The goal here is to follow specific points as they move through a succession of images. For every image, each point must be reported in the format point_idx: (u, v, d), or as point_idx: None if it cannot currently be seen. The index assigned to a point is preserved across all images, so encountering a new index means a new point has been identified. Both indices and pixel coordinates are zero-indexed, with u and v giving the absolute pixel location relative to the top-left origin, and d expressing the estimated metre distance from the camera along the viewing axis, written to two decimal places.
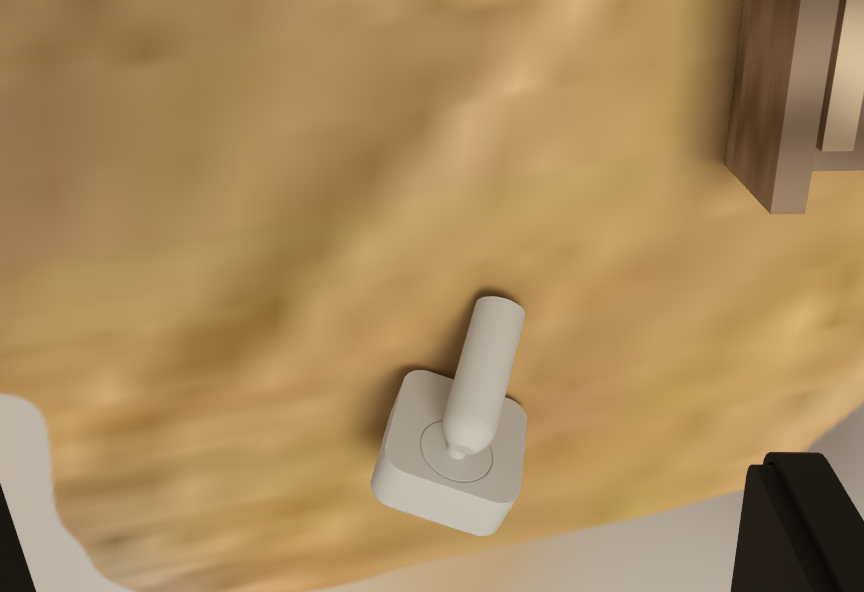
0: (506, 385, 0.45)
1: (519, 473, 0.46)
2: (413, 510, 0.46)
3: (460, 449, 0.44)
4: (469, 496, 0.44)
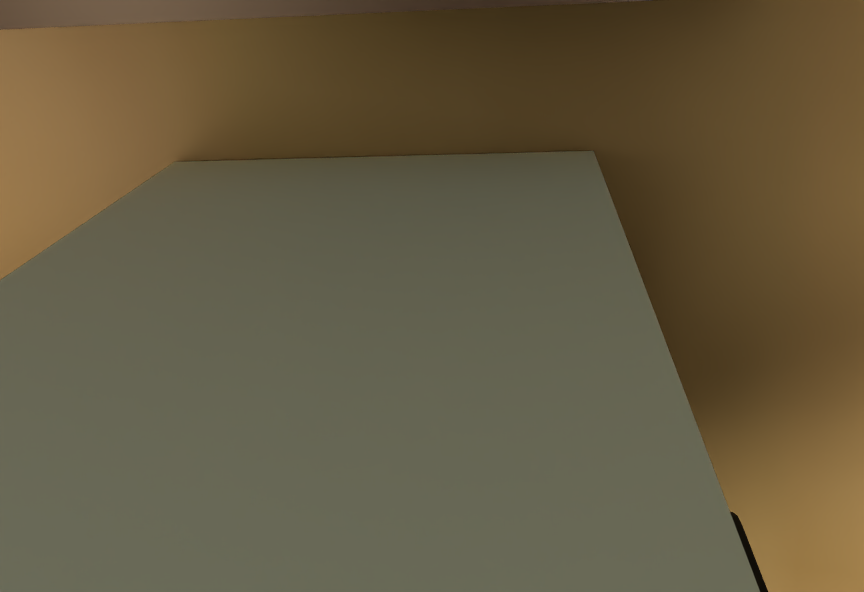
0: None
1: None
2: None
3: None
4: None
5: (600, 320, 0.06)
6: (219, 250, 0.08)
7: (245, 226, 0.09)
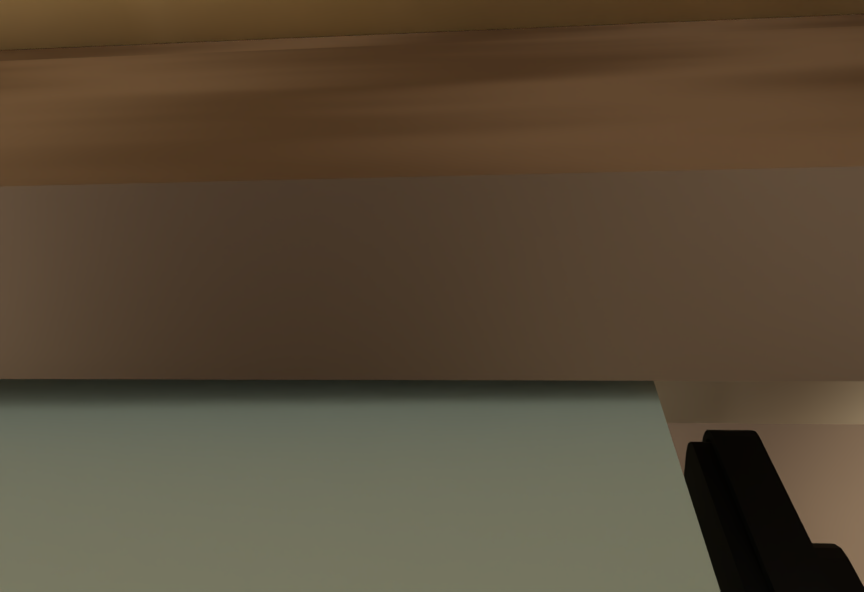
0: None
1: None
2: None
3: None
4: None
5: None
6: None
7: None
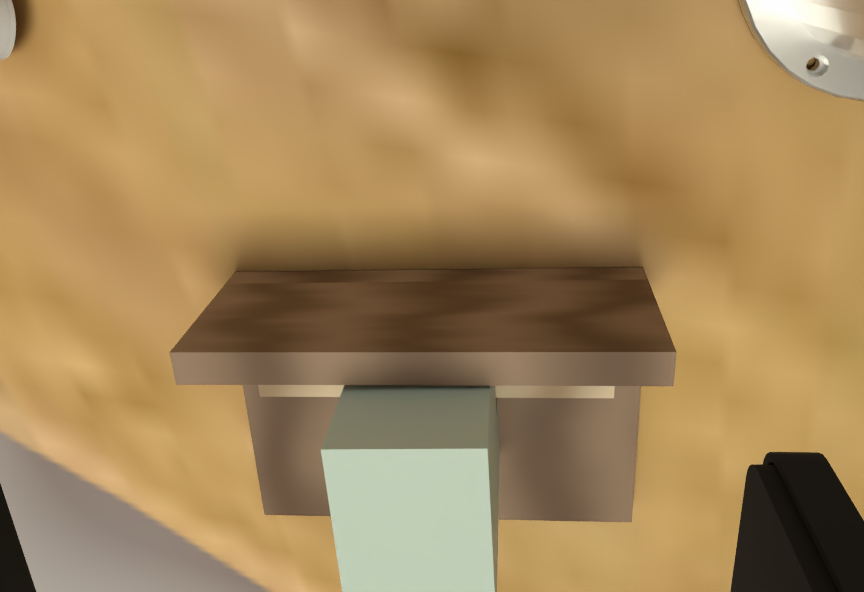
0: None
1: None
2: None
3: None
4: None
5: None
6: None
7: None
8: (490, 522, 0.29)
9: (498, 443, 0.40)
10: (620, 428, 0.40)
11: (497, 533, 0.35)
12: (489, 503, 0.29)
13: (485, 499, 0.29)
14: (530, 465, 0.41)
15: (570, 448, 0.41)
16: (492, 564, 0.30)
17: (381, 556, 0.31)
